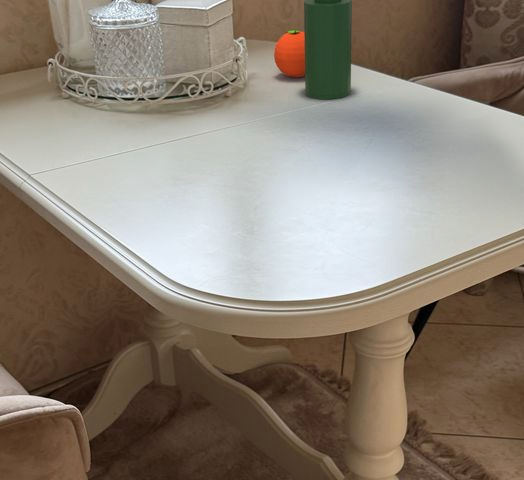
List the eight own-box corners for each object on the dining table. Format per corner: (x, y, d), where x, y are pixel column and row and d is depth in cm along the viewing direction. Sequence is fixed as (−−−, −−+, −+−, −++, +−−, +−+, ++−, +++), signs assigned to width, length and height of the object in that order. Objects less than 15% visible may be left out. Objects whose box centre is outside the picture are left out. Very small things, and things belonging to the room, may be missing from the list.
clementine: (266, 73, 131) (264, 27, 127) (304, 67, 133) (303, 22, 129) (284, 84, 124) (283, 37, 120) (324, 78, 126) (324, 31, 122)
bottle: (349, 85, 123) (350, -36, 113) (351, 98, 117) (353, -28, 107) (305, 87, 123) (303, -34, 113) (305, 100, 117) (303, -26, 108)
